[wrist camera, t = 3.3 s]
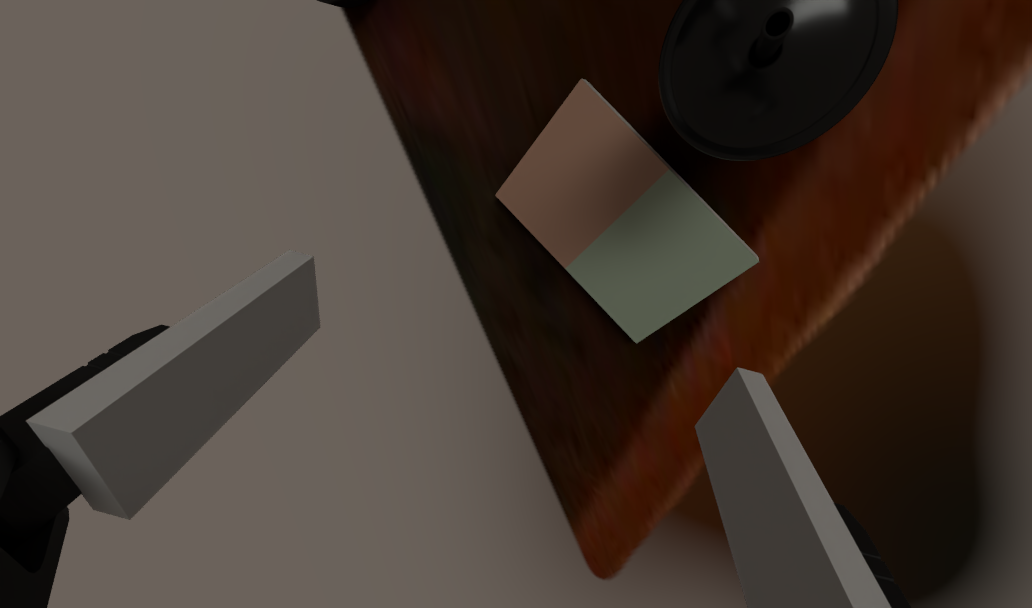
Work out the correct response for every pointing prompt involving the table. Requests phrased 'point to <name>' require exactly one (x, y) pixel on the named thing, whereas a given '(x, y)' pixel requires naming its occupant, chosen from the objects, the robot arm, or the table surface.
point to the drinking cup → (769, 70)
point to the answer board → (621, 217)
